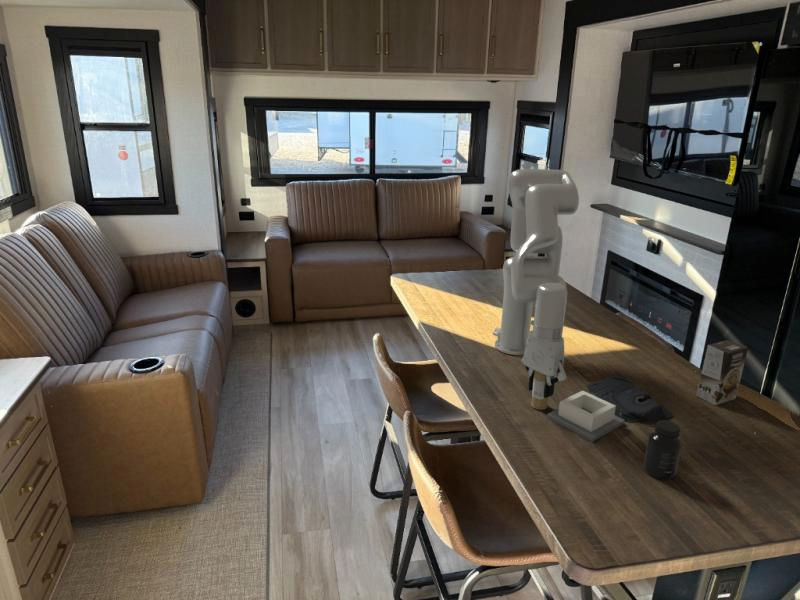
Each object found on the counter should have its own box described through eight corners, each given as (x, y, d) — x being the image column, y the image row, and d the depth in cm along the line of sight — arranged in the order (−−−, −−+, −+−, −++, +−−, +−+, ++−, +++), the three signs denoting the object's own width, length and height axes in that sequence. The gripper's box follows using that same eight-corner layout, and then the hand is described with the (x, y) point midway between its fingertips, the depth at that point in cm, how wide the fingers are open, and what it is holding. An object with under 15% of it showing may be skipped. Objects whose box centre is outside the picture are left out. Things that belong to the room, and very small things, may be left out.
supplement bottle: (637, 462, 132) (645, 417, 128) (665, 461, 133) (674, 416, 129) (652, 481, 126) (661, 434, 122) (681, 480, 126) (691, 433, 122)
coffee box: (716, 406, 158) (728, 353, 152) (695, 395, 163) (706, 344, 157) (736, 399, 162) (749, 347, 156) (715, 389, 167) (727, 338, 161)
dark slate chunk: (629, 382, 171) (631, 368, 169) (676, 421, 151) (680, 405, 149) (582, 386, 168) (584, 372, 166) (624, 426, 148) (627, 410, 146)
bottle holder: (546, 417, 150) (548, 400, 149) (578, 401, 158) (580, 385, 157) (592, 441, 140) (595, 424, 138) (624, 423, 148) (627, 406, 146)
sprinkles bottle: (550, 407, 155) (556, 362, 151) (539, 412, 153) (544, 366, 148) (538, 400, 159) (543, 356, 154) (526, 404, 156) (531, 360, 152)
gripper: (513, 323, 152) (507, 384, 158) (565, 344, 140) (557, 409, 146) (531, 317, 157) (525, 377, 163) (584, 337, 144) (575, 401, 150)
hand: (540, 392), depth 154 cm, fingers closed on sprinkles bottle, 4 cm apart
